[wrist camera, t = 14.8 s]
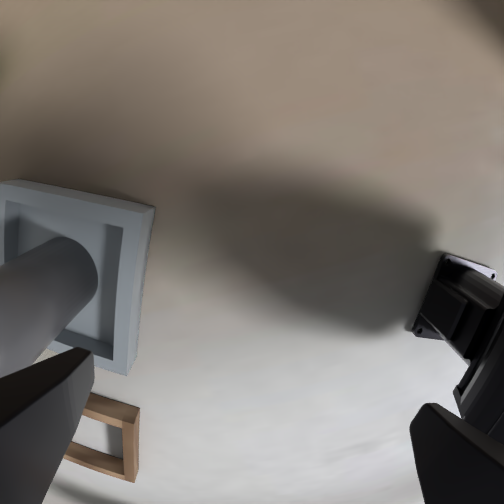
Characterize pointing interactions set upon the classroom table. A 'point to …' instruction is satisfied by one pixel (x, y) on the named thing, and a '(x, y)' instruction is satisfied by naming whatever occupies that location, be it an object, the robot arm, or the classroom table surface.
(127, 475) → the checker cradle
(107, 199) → the tray
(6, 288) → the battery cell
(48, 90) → the classroom table surface
